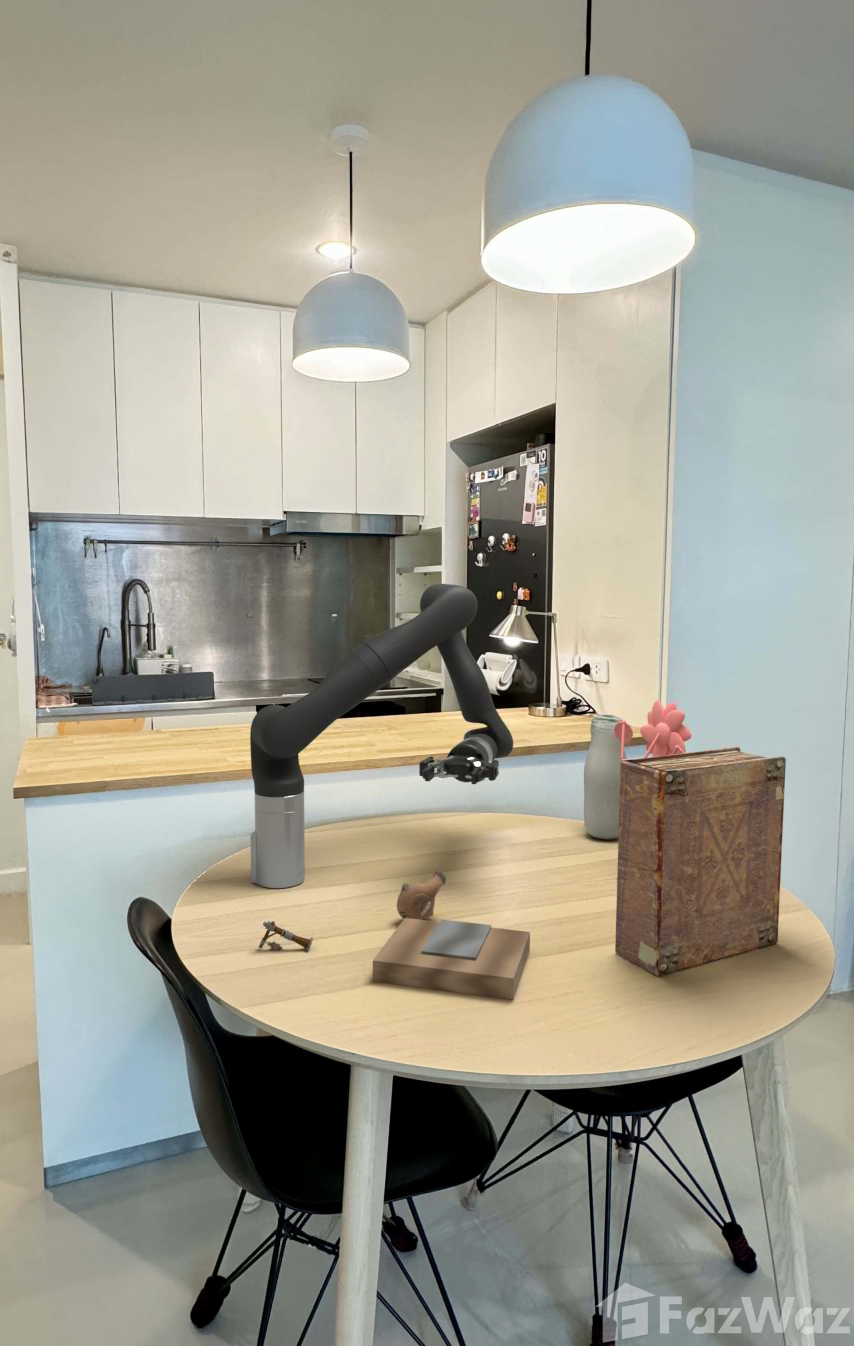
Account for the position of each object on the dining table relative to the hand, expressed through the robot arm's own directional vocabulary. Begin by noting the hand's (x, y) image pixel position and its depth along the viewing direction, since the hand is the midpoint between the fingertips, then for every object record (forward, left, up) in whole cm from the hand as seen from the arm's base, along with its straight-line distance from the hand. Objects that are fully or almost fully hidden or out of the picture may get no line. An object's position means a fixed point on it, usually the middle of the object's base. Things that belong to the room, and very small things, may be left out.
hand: (449, 777), depth 146 cm
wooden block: (+7, -26, -22) cm, 35 cm away
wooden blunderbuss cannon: (-19, -28, -23) cm, 40 cm away
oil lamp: (-2, -11, -22) cm, 25 cm away
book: (+42, -10, -22) cm, 49 cm away
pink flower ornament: (+37, +19, -22) cm, 47 cm away
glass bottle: (+25, +46, -22) cm, 57 cm away
